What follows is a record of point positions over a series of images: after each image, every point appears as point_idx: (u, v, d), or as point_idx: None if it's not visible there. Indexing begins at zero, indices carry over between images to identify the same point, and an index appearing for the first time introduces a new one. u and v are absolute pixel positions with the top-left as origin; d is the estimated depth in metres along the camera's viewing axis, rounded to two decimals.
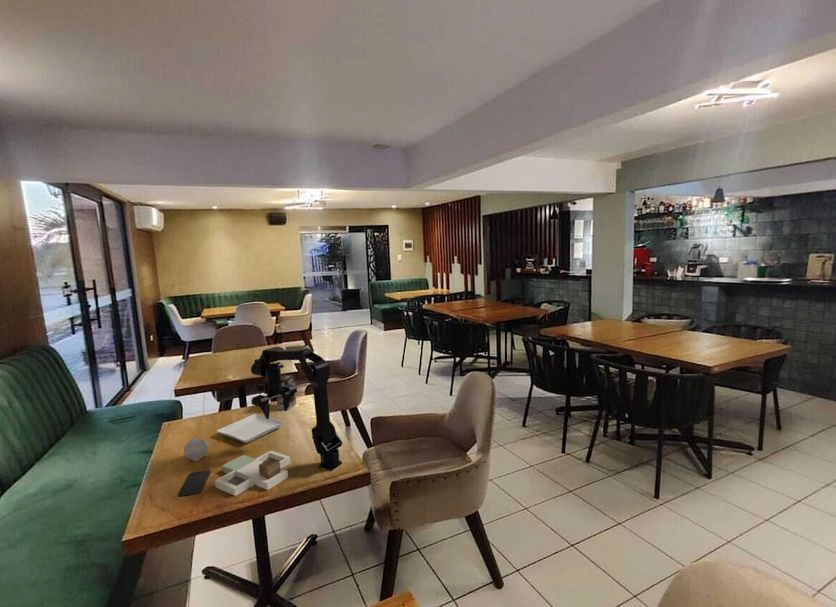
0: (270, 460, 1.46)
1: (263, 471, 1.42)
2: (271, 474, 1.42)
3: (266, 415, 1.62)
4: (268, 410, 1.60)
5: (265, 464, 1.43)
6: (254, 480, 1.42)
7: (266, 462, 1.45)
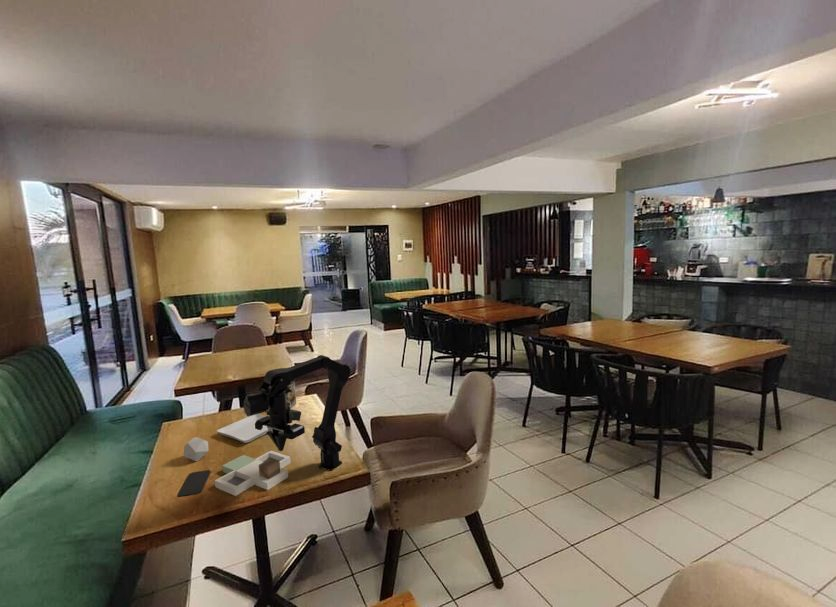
0: (270, 460, 1.46)
1: (263, 471, 1.42)
2: (271, 474, 1.42)
3: None
4: (273, 440, 1.38)
5: (265, 464, 1.43)
6: (254, 480, 1.42)
7: (266, 462, 1.45)
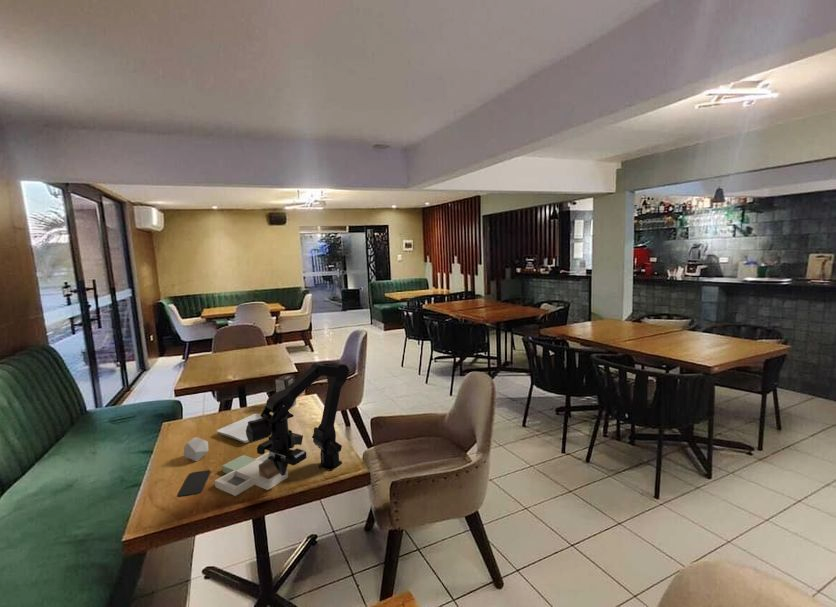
0: (270, 460, 1.46)
1: (263, 471, 1.42)
2: (271, 474, 1.42)
3: None
4: (275, 465, 1.39)
5: (265, 464, 1.43)
6: (254, 480, 1.42)
7: (266, 462, 1.45)
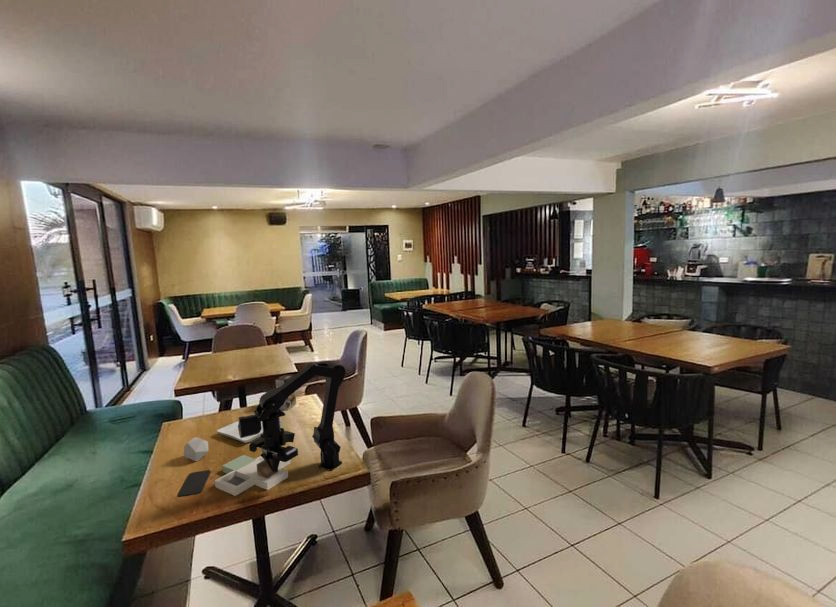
0: None
1: (261, 470, 1.43)
2: (269, 473, 1.43)
3: None
4: (267, 462, 1.41)
5: (263, 463, 1.44)
6: (254, 480, 1.42)
7: (264, 461, 1.45)
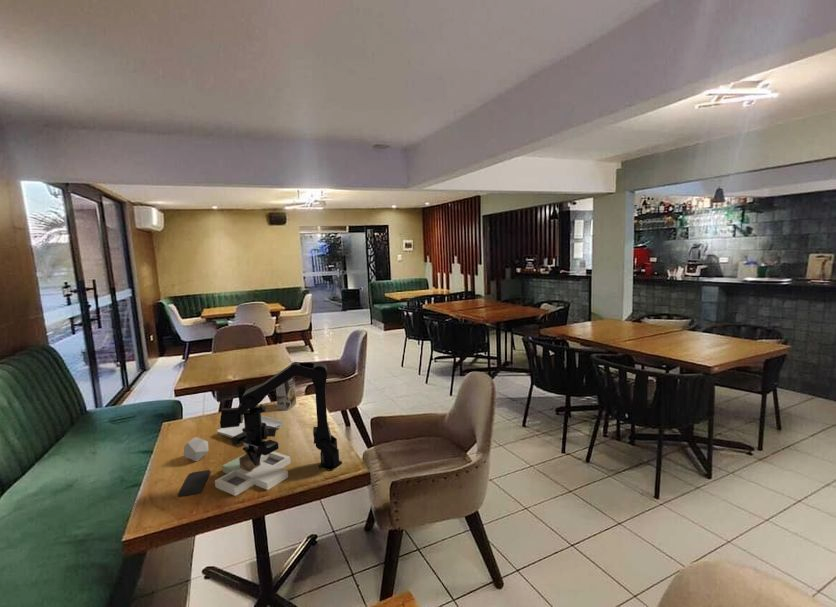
0: None
1: (243, 464, 1.48)
2: (251, 466, 1.47)
3: None
4: (249, 456, 1.46)
5: (245, 457, 1.49)
6: (254, 480, 1.42)
7: (247, 455, 1.50)
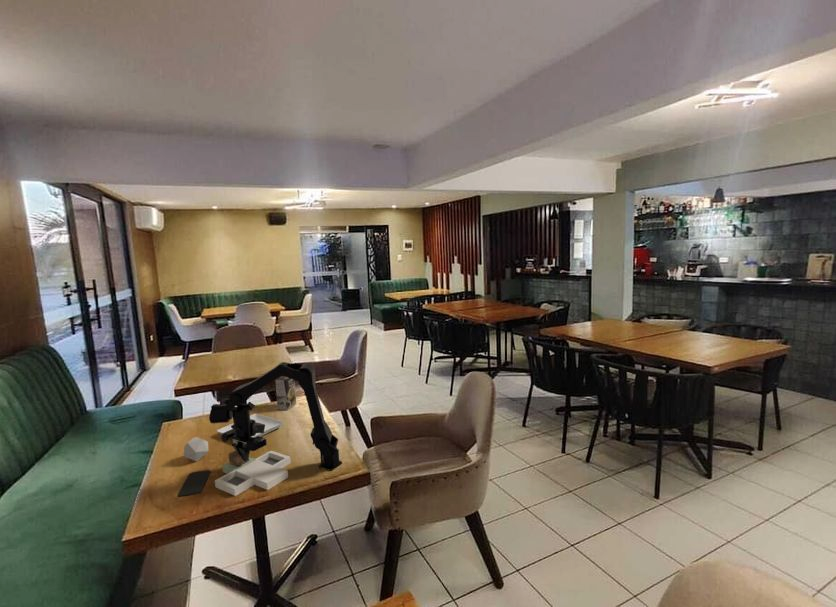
0: None
1: (232, 459, 1.51)
2: (240, 462, 1.51)
3: None
4: (238, 452, 1.49)
5: (234, 453, 1.52)
6: (254, 480, 1.42)
7: (236, 451, 1.54)
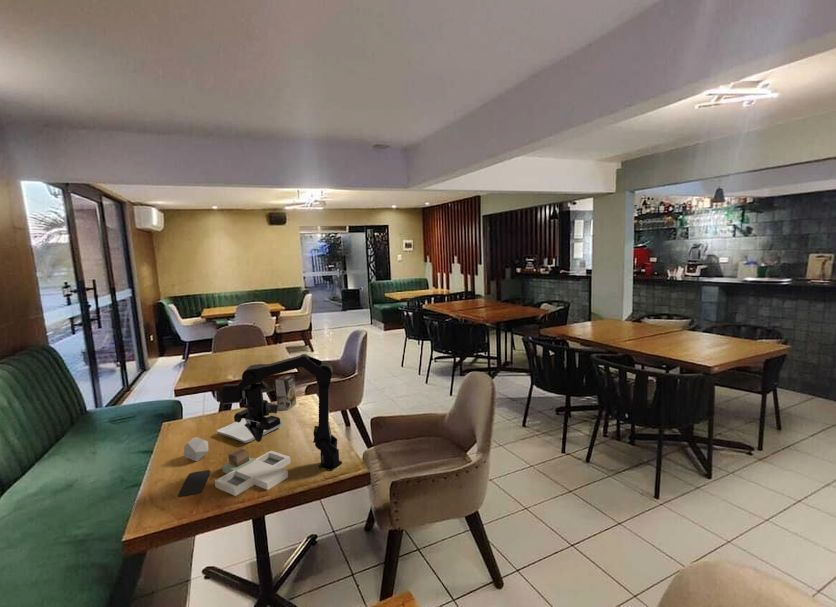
0: (240, 449, 1.55)
1: (232, 459, 1.51)
2: (240, 462, 1.51)
3: None
4: (251, 432, 1.47)
5: (234, 453, 1.52)
6: (254, 480, 1.42)
7: (236, 451, 1.54)
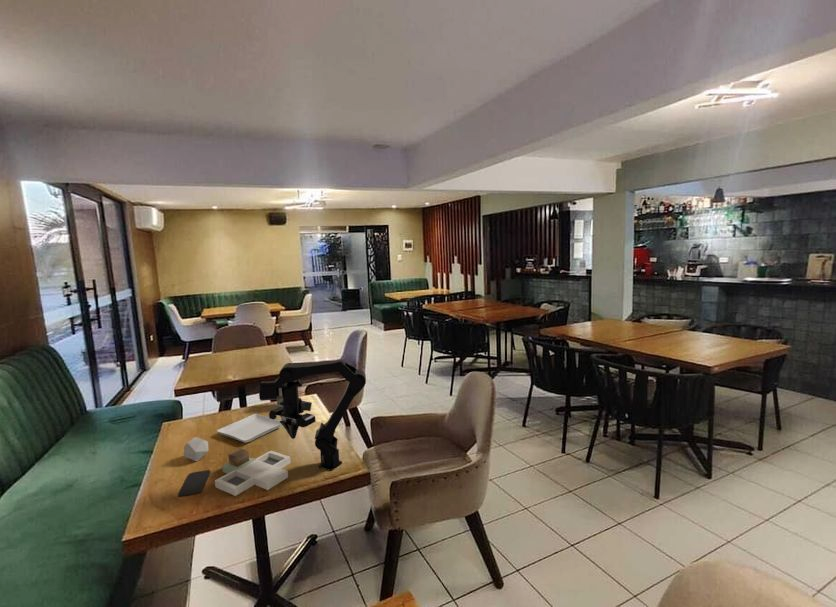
0: (240, 449, 1.55)
1: (232, 459, 1.51)
2: (240, 462, 1.51)
3: None
4: (286, 429, 1.49)
5: (234, 453, 1.52)
6: (254, 480, 1.42)
7: (236, 451, 1.54)
